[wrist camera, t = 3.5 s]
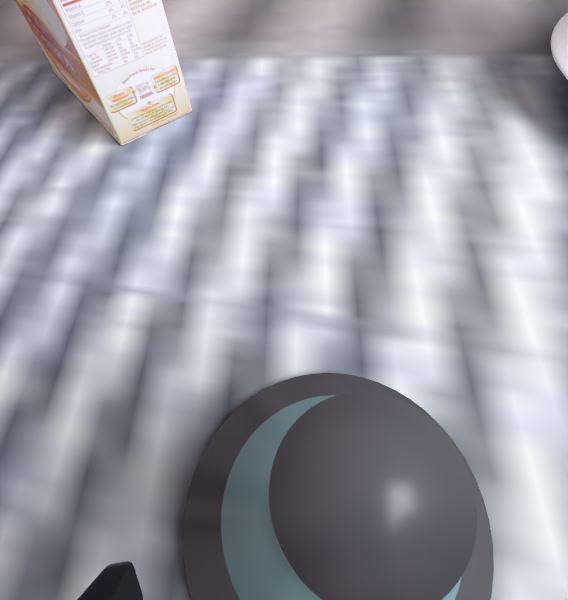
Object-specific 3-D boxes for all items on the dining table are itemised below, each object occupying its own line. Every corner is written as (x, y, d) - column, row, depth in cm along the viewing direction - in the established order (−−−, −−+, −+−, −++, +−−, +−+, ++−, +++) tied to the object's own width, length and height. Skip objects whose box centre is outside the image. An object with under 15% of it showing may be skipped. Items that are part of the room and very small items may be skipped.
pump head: (455, 506, 9) (518, 493, 6) (359, 633, 8) (385, 686, 5) (346, 403, 11) (359, 356, 8) (251, 501, 10) (227, 488, 7)
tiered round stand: (548, 523, 17) (642, 518, 12) (343, 841, 13) (364, 1025, 8) (326, 331, 22) (330, 274, 17) (129, 513, 18) (64, 505, 13)
